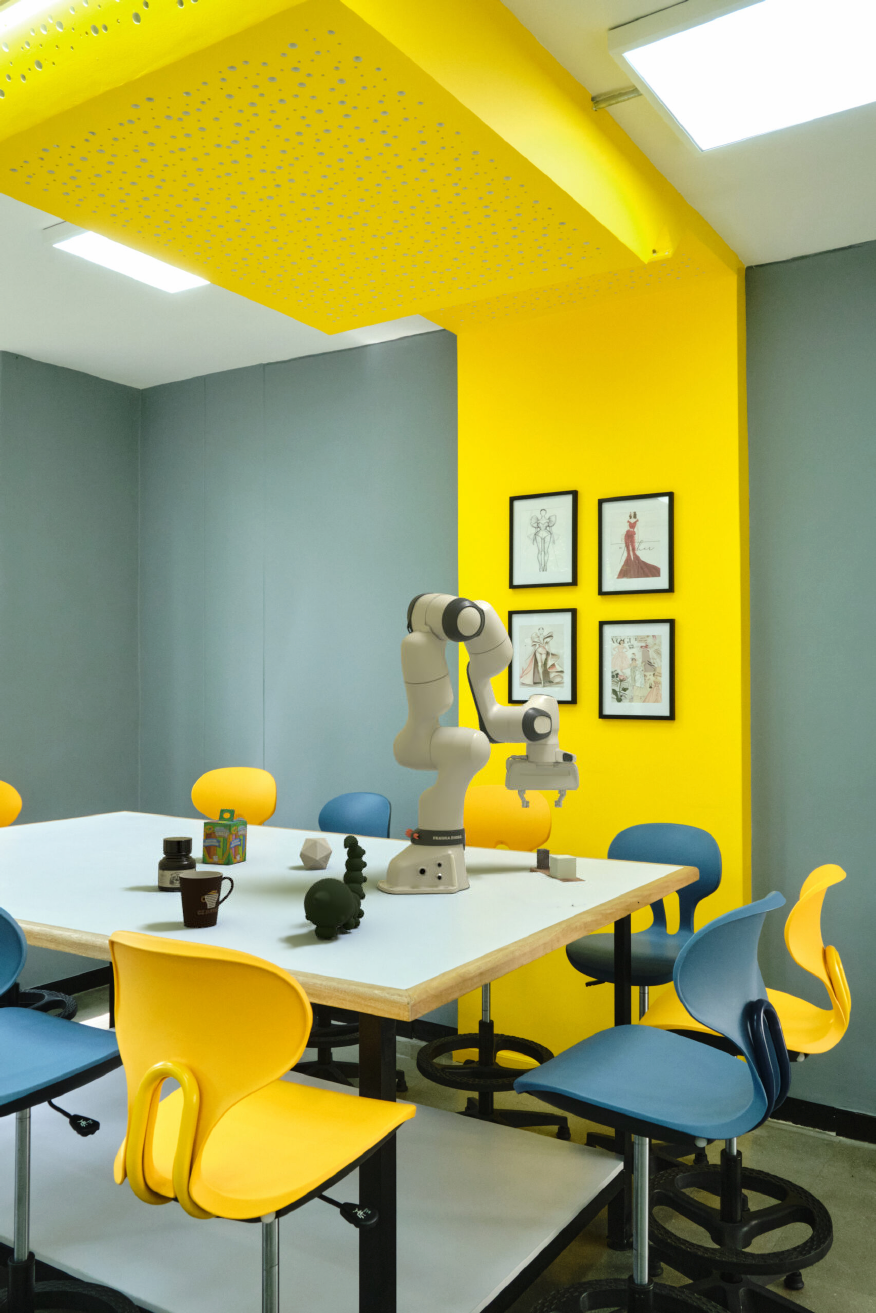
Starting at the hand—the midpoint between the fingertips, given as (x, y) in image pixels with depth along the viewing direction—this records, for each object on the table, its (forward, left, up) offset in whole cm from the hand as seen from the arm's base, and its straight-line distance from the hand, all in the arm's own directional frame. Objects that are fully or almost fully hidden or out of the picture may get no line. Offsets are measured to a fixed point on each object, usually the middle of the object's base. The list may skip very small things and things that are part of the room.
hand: (541, 807), depth 259 cm
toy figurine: (-65, -52, -18) cm, 85 cm away
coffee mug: (-89, -39, -18) cm, 98 cm away
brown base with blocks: (0, -9, -17) cm, 19 cm away
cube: (0, -13, -16) cm, 21 cm away
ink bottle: (-94, +2, -18) cm, 95 cm away
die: (-57, +23, -18) cm, 64 cm away
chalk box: (-80, +40, -18) cm, 91 cm away
